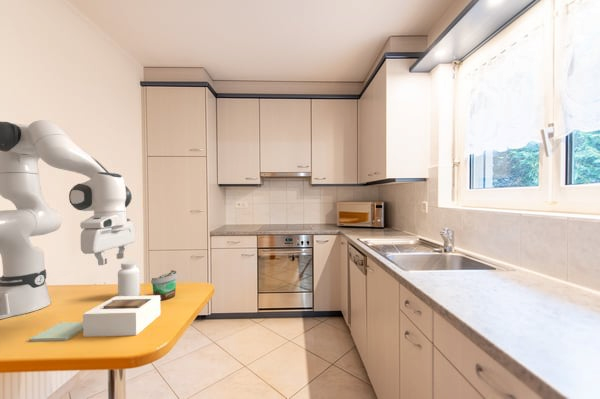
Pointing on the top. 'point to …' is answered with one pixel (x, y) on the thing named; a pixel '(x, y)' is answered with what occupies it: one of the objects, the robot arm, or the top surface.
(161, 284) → the food container
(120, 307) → the walnut slab
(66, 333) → the sage pad
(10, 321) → the top surface
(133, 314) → the pocket jig
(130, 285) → the pill bottle
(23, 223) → the robot arm
